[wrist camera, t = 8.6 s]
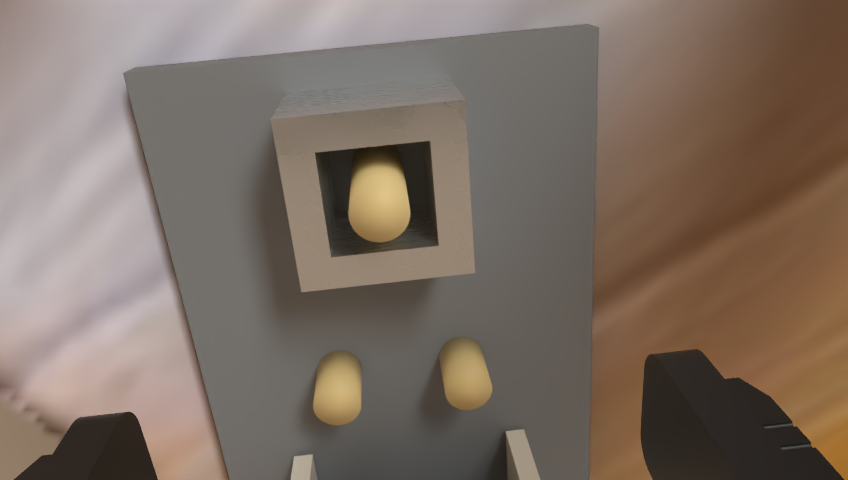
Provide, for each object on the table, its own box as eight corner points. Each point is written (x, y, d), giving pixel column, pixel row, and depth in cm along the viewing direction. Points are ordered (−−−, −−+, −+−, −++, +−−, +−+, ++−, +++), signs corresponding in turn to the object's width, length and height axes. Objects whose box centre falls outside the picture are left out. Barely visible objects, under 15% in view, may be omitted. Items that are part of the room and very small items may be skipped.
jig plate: (587, 24, 23) (658, 45, 18) (580, 523, 33) (624, 640, 27) (134, 67, 23) (57, 104, 17) (260, 562, 32) (237, 691, 27)
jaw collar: (449, 76, 23) (464, 99, 19) (459, 226, 25) (475, 273, 21) (286, 93, 22) (270, 119, 19) (311, 242, 25) (301, 292, 21)
